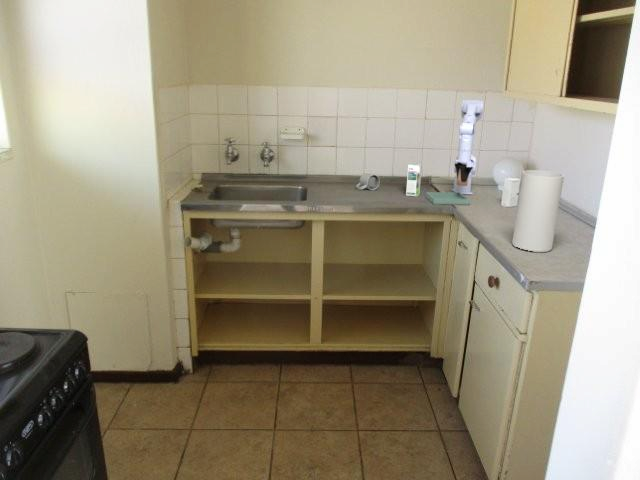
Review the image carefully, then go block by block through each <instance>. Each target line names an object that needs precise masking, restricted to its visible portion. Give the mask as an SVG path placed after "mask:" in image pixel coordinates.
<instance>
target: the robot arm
mask: <svg viewBox="0 0 640 480" xmlns="http://www.w3.org/2000/svg"><path fill="white" fill-rule="evenodd" d="M484 103H485V101H484V100H479V99H463V100H462V102H461V109H460V111H461V112H460V113H461V119H462V121H461V123H460V125H459V133H458V134H459V135H458V136H459V138H458V139H459V140H458V141H459V142H458V150H457V151H458V152H457V156H456V157H455V159H454V162H455V163H454V164H453V165H454V167H453V168H454V170H453V171H454V173H455V174H456V175H455V176H454V179H453V180H454V181H453V188H451V191H452V193H461V194H463V195H473V194H474V193H473V192H472V191H471V190H472V189H471V187H472V180H473V175H475V174H476V170H477V158H476V157H475V156H474V155H473V154H472V153H473V146H474V136H475V134H476V127H477V125H476V124H477V122H478V121H480V120H481V119H482V117H483V112H484V105H485V104H484ZM459 170H460V171H461V182H466V181H467V178H468V176H469V178H468V184H467V186H461V185H457V180H458V174H459Z"/></svg>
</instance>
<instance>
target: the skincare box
mask: <svg viewBox="0 0 640 480" xmlns="http://www.w3.org/2000/svg"><path fill="white" fill-rule="evenodd" d="M520 186H521V178H517V177H507V178H506V177H505V178H504V180H503V187H502V193H501V194H502V196H501V204H500V205H501V206H502V207H505V208H512V207H517V206H518V199H519V192H520Z"/></svg>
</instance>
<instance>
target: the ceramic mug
mask: <svg viewBox="0 0 640 480" xmlns="http://www.w3.org/2000/svg"><path fill="white" fill-rule="evenodd" d="M358 181H359V182H358V183H356V185H355V188H356V190H357V191H360V190H365V189H367V190H369V191H375V190H376V189H378V187H380V183H381V182H380V176H378V175H377V174H373V173H363V174H361V175H360V177H359V180H358Z"/></svg>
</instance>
